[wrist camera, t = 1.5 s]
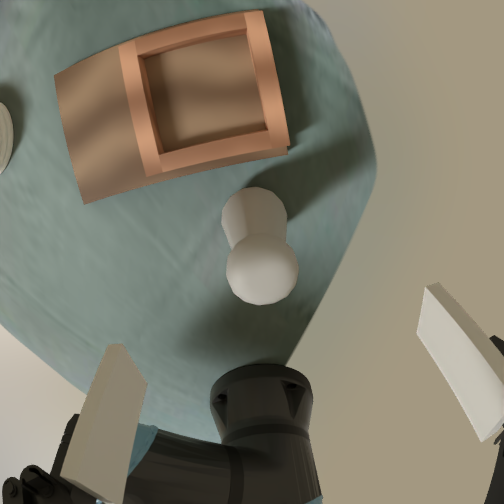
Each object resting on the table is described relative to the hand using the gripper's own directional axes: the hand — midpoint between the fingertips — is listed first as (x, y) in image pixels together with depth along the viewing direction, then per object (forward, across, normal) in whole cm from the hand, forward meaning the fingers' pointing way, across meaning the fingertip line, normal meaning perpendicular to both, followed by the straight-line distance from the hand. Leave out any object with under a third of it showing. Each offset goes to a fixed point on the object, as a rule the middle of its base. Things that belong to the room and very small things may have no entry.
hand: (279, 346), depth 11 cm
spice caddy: (+18, +6, -12) cm, 23 cm away
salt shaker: (+19, 0, 0) cm, 19 cm away
